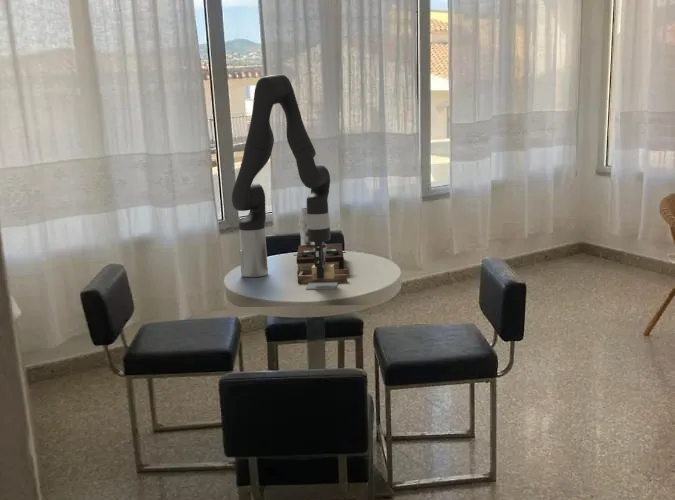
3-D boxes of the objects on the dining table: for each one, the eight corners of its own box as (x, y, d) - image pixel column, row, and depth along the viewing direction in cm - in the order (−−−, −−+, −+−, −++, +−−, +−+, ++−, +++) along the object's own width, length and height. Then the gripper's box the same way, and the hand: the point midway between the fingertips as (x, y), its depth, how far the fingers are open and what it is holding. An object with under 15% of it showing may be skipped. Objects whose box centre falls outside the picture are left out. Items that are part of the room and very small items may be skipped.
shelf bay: (298, 283, 245) (297, 276, 244) (301, 276, 254) (301, 270, 253) (347, 282, 243) (346, 275, 243) (349, 275, 252) (349, 268, 251)
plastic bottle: (318, 256, 287) (315, 207, 283) (314, 260, 280) (311, 209, 276) (303, 256, 288) (300, 207, 284) (298, 260, 282) (295, 210, 278)
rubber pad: (305, 289, 236) (305, 288, 236) (309, 283, 244) (309, 282, 243) (335, 289, 235) (335, 287, 235) (338, 283, 242) (338, 281, 242)
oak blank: (312, 279, 237) (311, 267, 236) (313, 276, 240) (313, 264, 240) (333, 278, 236) (332, 267, 235) (334, 275, 240) (333, 264, 239)
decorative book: (344, 239, 281) (347, 255, 251) (345, 258, 282) (348, 276, 253) (295, 242, 280) (292, 258, 251) (296, 261, 282) (293, 279, 253)
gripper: (327, 229, 227) (330, 281, 231) (332, 222, 241) (334, 271, 245) (304, 230, 228) (307, 282, 232) (310, 223, 242) (313, 272, 246)
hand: (321, 276), depth 238 cm, fingers closed on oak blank, 4 cm apart
